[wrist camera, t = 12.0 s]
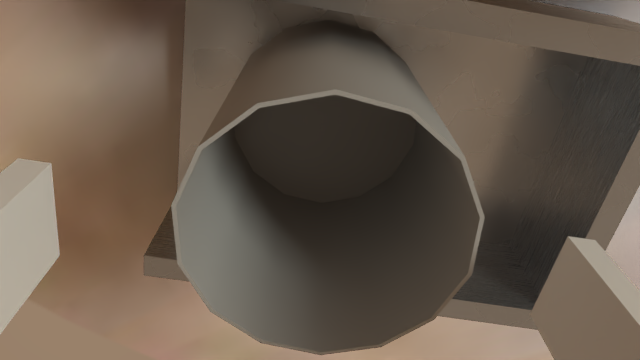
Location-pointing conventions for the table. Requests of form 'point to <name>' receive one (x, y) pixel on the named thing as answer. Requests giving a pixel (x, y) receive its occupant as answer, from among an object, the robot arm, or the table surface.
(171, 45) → the table surface
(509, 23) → the silver open box
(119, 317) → the table surface
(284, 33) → the cup
